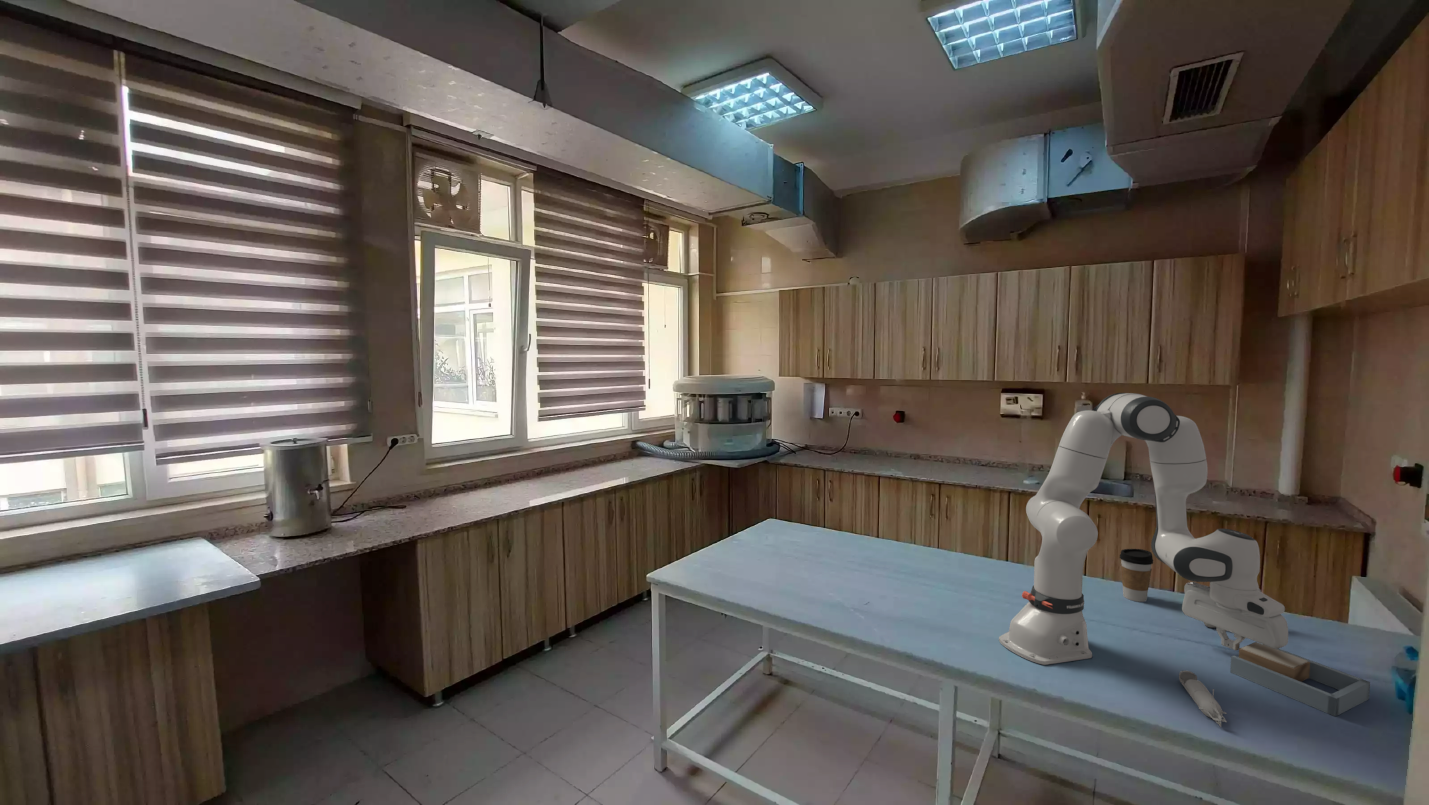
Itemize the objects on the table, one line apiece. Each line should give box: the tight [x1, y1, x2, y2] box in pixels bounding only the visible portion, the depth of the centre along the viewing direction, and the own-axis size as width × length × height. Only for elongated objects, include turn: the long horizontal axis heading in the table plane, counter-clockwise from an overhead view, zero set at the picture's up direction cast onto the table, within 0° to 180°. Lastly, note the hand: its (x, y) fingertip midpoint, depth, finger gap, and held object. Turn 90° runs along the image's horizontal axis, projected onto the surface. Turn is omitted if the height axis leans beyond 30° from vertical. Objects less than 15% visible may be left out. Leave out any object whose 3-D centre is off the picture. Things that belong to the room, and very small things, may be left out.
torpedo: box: [1178, 669, 1228, 728], centre depth 122 cm, size 18×5×7 cm, turn 158°
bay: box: [1229, 644, 1371, 717], centre depth 128 cm, size 14×18×4 cm
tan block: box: [1238, 641, 1310, 683], centre depth 132 cm, size 7×10×5 cm
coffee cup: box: [1119, 548, 1154, 603], centre depth 173 cm, size 8×8×15 cm
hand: (1230, 647), depth 139 cm, fingers closed
